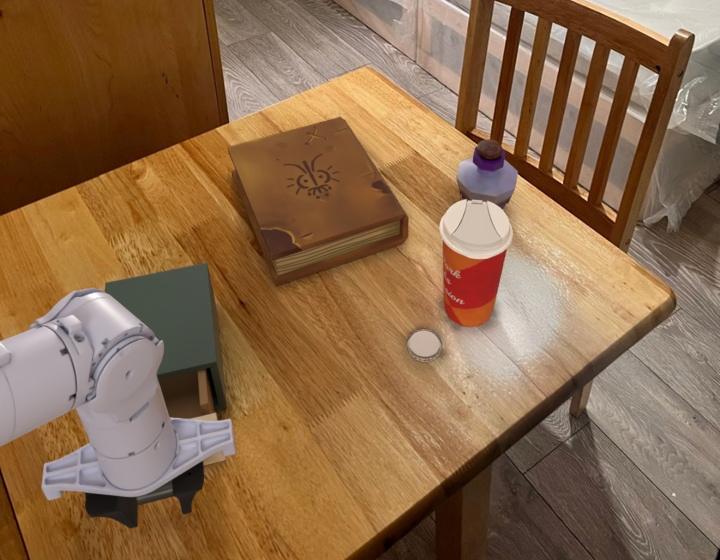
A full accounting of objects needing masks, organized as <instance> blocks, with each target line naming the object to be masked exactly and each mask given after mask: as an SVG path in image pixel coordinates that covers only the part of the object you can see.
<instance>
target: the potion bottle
mask: <svg viewBox="0 0 720 560" xmlns="http://www.w3.org/2000/svg"><path fill="white" fill-rule="evenodd" d="M518 174H519V171H518V170H517V169H516V168H515V167H514V166H513V165H511V164H510V163H509V162H508V161H507V160H506V151H505V150H504V149H503V146H502V145H501V144H500V143H499V142H498V140H494V139H489V138H488V139H483V140H481V141H479V142H478V143H477V146H475V147H474V149H473V154H472V156H471V157H468V158H467V159H464V160H462V161H459V165H458V169H457V173H456V177H455V178H456V182H457V188H458V193H459V195H461V200H465V199H467V202H468V201H472V200H482V202H486V203H487V201H489V202H492V203H494V204H496V205H497V206H499V207H500V208H501V209H502V210H503V211H504V209H505V207H506V206H507V204H509V203H510V201H511V198H512V197H513V194H514V192H515V189H516V188H517V180H518Z"/></svg>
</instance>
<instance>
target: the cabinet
mask: <svg viewBox="0 0 720 560" xmlns="http://www.w3.org/2000/svg"><path fill="white" fill-rule="evenodd" d="M209 269H210V268H209V265H208V262H202V263H198V264H193V265H192V264H191V265H187V266H183V267H177V268H172V269H167V270H162V271H157V272H152V273H147V274H142V275H136V276H132V277H127V278H122V279H116V280H111V281H108V282H104V292H105V293H107V294H109V295H111V296H112V297H113V298H114V299H115V300H117V301H118V302H119V303H120V304H121V305H123V306H124V307H125V308H126V309H127V310H128V311H130V312H131V313H132V314H133V315H134V316H135V317H137V318H138V319H139V320H140V321H141V322H143V323H144V324H145V325H146V326H147V327H148V328H150V329H151V330H152V331H153V332H154V334H155V336H156V338H157V339H158V340H159V342H160V341H161V340H163V342H164V353H163V358H162V361H161V364H160V366H159V368H158V371H157V378H158V379H161V378H166V377H170V376H175V375H179V374H184V373H188V372H192V371H197V370H201V369H206V368H210V370H211V379H212V391H213V402H214V412H216V411H217V412H218V411H221V410H225V409H227V408H228V402H227V393H226V384H225V383H226V382H225V374H224V366H223V365H224V364H223V355H222V346H221V345H222V344H221V335H220V327H219V316H218V308H217V303H216V298H215V294H214V288H213V284H212V279H211V274H210V270H209Z"/></svg>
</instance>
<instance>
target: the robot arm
mask: <svg viewBox="0 0 720 560" xmlns="http://www.w3.org/2000/svg"><path fill="white" fill-rule="evenodd" d="M163 353H164V342H163V340H161V341H160V342H159V340H158V339H157V338H156V336H155V334H154V332H153V331H152V330H151V329H150V328H148V327H147V326H146V325H145V324H144V323H143V322H141V321H140V320H139V319H138V318H137V317H135V316H134V315H133V314H132V313H131V312H130V311H128V310H127V309H126V308H125V307H124V306H123V305H121V304H120V303H119V302H118V301H117V300H115V299H114V298H113V297H112V296H111V295H109V294H107V293H105V290H102V289H100V288H96V287H88V288H84V289H80V290H79V289H77V290H73V291H71V292H70V293H68V294H66V295H65V296H64V297H62V298H60V300H59V301H58V302H56V304H55V305H54V306H53V307H52V308H50V310H49V311H48V312H46V314H44V315H42V316H41V317H39V318H36V319H35V320H34V322H33V323H31V324H30V325H29V326H28V330H25V331H22V332H20V333H17V334H15V335H12V336H10V337H7V338H4V339H2V340H0V447H3V446H5V445H7V444H9V443H10V442H13V441H14V440H16V439H18V438H20V437H22V436H24V435H26V434H28V433H30V432H33V431H34V430H36V429H38V428H40V427H42V426H45V425H46V424H49V423H50V422H52V421H54V420H56V419H58V418H59V417H62V416H63V415H65V414H68V413H70V412H72V411H73V410H76V414H77V415H78V418H79V420H80V422H81V425H82V427H83V429H84V431H85V433H86V436H87V438H88V441H89V442H88V443H86V444H84V445H83V446H81V447H79V448H77V449H76V450H74V451H72V452H70V453H69V454H66V455H64V456H62V457H60V458H57V459H55V460H52V461H48V462H45V463H44V464H43V470H42V478H41V479H42V480H41V491H42V492H43V494H44V496H45V498H46V499H47V501H53V500H56V499H60V498H62V496H63V494H64V492H65V491H66V492H68V491H69V492H76V493H77V492H78V493H84V496H85V497H84V498H85V501H84V509H85V511H86V513H87V515H88V517H89V518H90V519H94V518H107V519H111V520H114V521H116V522H118V523H119V524H122V525H124V526H125V527H127V528H128V529H130V530H131V529H135V528H138V527H139V525H138V523H139V516H138V515H139V506H138V502H137V498H136V497H137V496H142V495H145V494H148V493H150V492H152V491H154V490H156V489H157V488H159V487H161V486H162V485H164V484H166V483H167V482H169V481H170V480H172V490H173V497H172V498H174V497H175V498H176V499H177V500H178V502H179V505H180V511H181V513H182V515H183V516H184V515H185V516H186V515H188V514H192V512H193V507H192V505H193V501H194V498H195V496H196V495H197V493H198V492H201V490H203V488H204V484H205V467H204V466H205V465H203V460H205V459H206V458H208V457H209V456H211V455H213V454H215V453H217V452H219V451H222V454H223V456H226V457H229V456H234V455H236V454H237V448H236V440H235V439H236V438H235V430H234V426H233V422H232V418H227V419H221V420H218V421H203V420H192V419H182V418H171V417H169V414H168V411H167V408H166V404H165V401H164V398H163V394H162V391H161V388H160V385H159V381H158V378H157V371H158V368H159V366H160V364H161V361H162V358H163Z"/></svg>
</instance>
